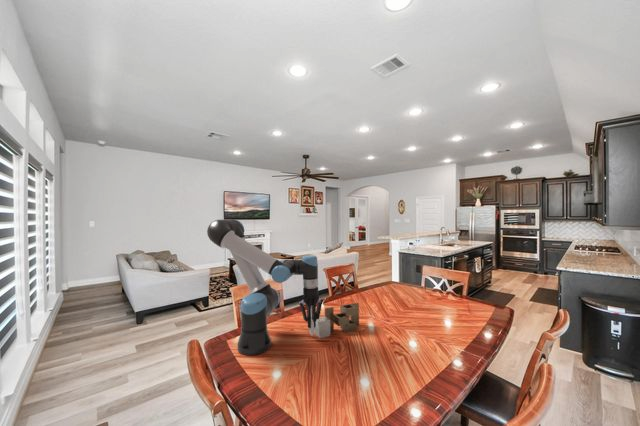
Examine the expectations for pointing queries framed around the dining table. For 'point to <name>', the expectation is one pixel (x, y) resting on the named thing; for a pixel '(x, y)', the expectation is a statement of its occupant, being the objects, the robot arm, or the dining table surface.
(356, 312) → the brown holed block
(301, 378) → the dining table surface
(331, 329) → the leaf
